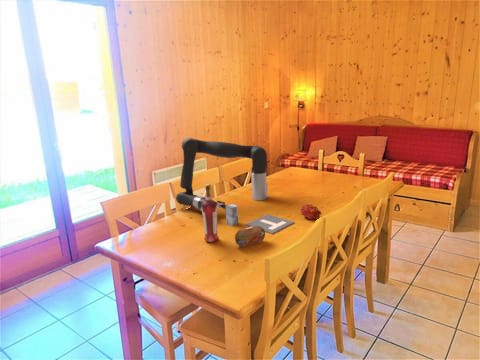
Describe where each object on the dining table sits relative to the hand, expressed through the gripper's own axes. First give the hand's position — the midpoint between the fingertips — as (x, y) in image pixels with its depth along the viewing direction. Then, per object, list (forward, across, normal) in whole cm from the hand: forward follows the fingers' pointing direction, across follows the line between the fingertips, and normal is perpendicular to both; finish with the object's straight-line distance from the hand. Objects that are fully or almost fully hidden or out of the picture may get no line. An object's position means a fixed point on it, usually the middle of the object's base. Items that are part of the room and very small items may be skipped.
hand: (221, 209), depth 200 cm
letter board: (+24, +12, +6) cm, 28 cm away
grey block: (+8, 0, +6) cm, 10 cm away
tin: (+32, -12, +6) cm, 35 cm away
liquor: (+15, -21, +6) cm, 27 cm away
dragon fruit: (+36, +32, +6) cm, 49 cm away
